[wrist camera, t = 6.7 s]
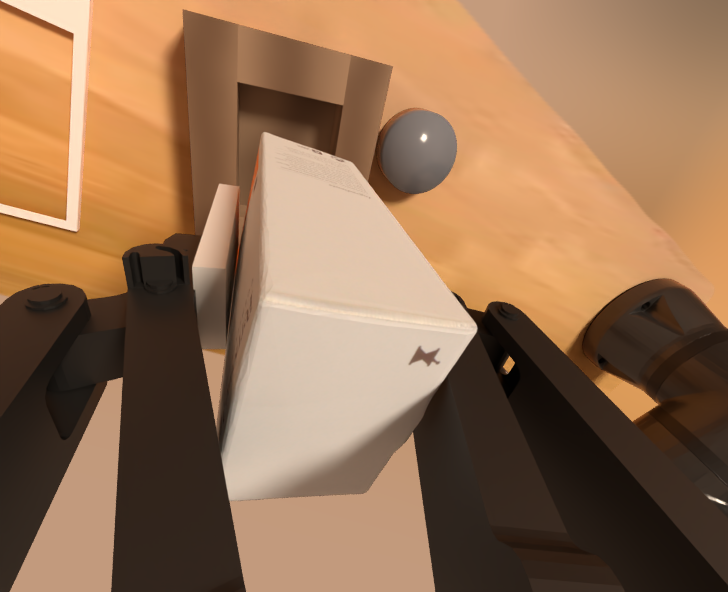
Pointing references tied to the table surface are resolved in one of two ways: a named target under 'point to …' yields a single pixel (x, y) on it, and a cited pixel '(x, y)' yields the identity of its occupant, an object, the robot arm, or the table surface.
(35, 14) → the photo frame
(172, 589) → the robot arm
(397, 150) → the smooth grey pebble
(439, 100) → the table surface
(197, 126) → the socket block
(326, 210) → the skincare box
